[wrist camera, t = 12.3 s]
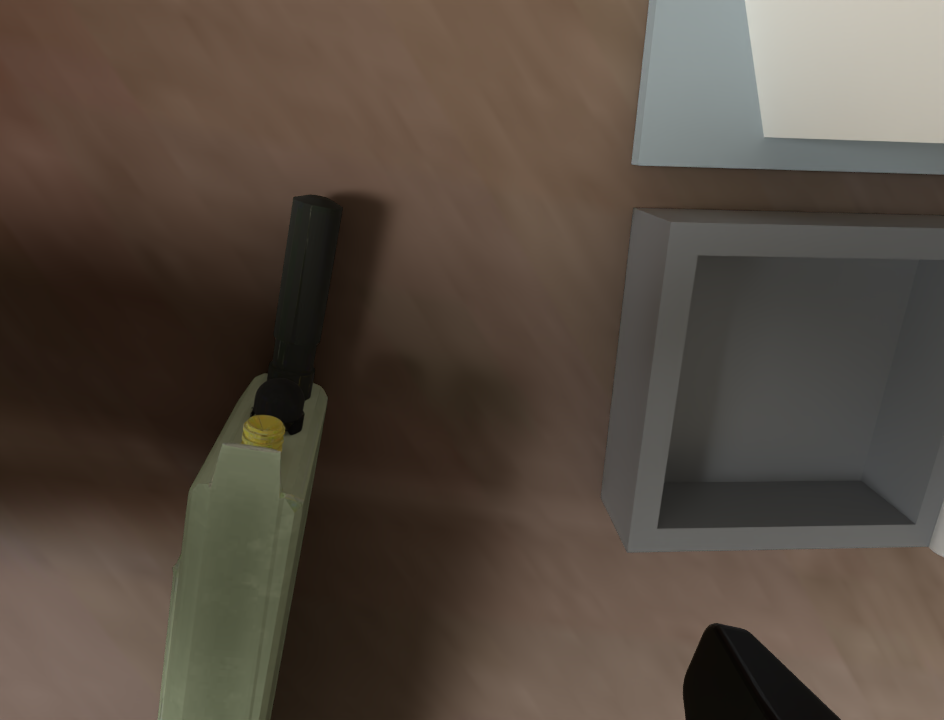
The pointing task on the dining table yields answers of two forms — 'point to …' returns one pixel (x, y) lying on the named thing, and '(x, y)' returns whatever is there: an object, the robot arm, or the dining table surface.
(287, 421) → the handheld radio
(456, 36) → the dining table surface
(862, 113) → the block
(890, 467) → the case
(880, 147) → the pad
